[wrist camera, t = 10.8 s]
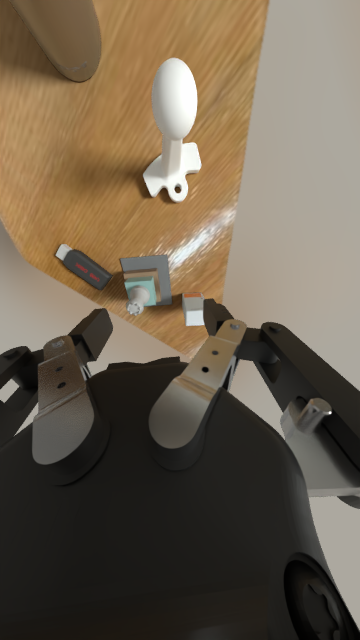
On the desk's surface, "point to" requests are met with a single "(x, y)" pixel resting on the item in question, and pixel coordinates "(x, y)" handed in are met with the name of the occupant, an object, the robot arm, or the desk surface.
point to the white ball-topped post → (173, 129)
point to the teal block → (147, 283)
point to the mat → (149, 263)
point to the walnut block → (146, 273)
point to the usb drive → (84, 266)
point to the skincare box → (193, 308)
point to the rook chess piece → (137, 299)
